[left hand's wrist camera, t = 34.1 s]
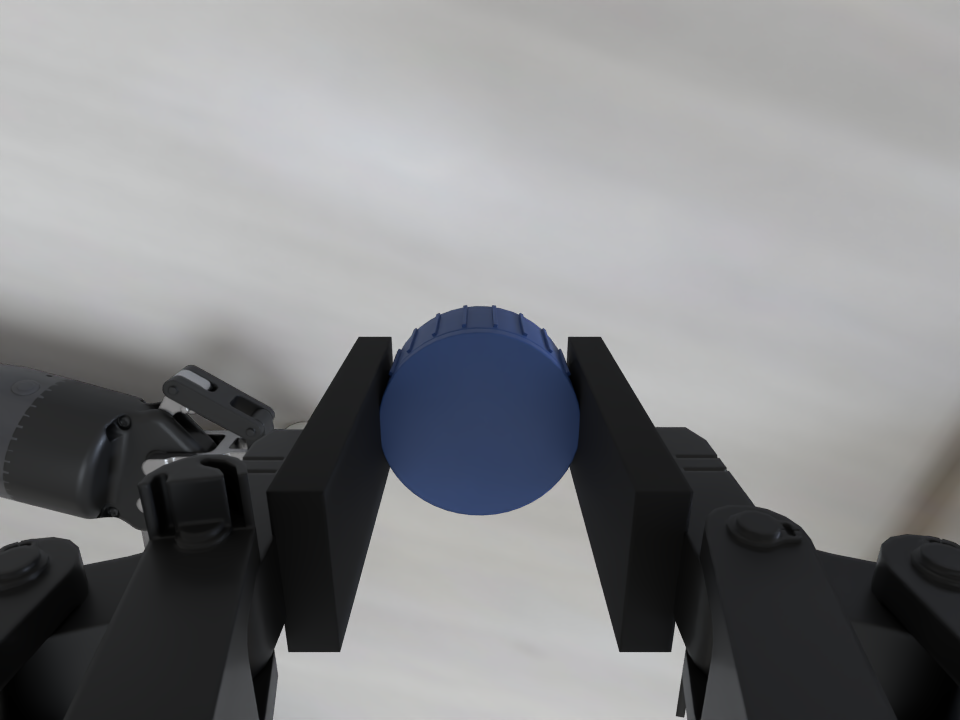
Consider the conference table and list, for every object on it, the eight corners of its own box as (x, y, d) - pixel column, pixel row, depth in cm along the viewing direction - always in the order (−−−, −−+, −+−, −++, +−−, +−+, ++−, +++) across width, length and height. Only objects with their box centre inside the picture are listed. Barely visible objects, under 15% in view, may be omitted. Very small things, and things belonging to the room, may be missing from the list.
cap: (375, 451, 15) (359, 497, 13) (406, 284, 13) (394, 307, 12) (543, 485, 15) (552, 534, 13) (592, 326, 14) (610, 355, 12)
